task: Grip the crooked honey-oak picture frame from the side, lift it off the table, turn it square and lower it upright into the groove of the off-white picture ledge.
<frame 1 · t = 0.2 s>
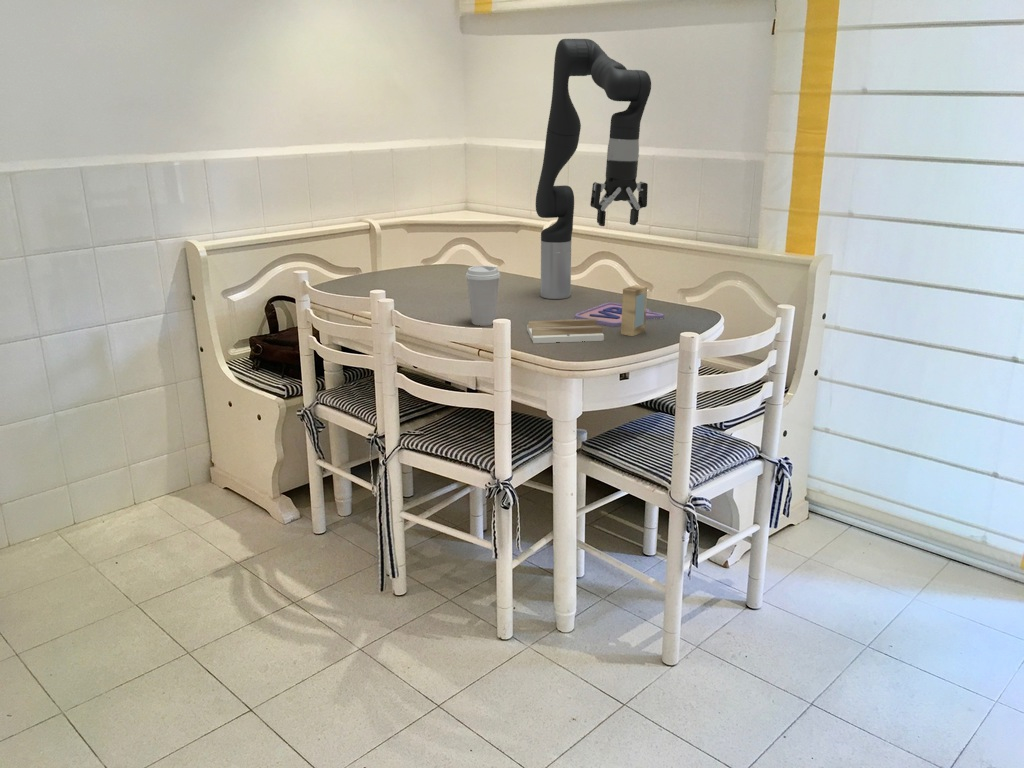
hand: (617, 225, 205), 28 cm above the table, tool pointing down, fingers open, 8 cm apart
coffee cup: (483, 323, 227), on the table
icon: (620, 319, 231), on the table
ledge: (564, 335, 214), on the table
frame: (633, 332, 216), on the table
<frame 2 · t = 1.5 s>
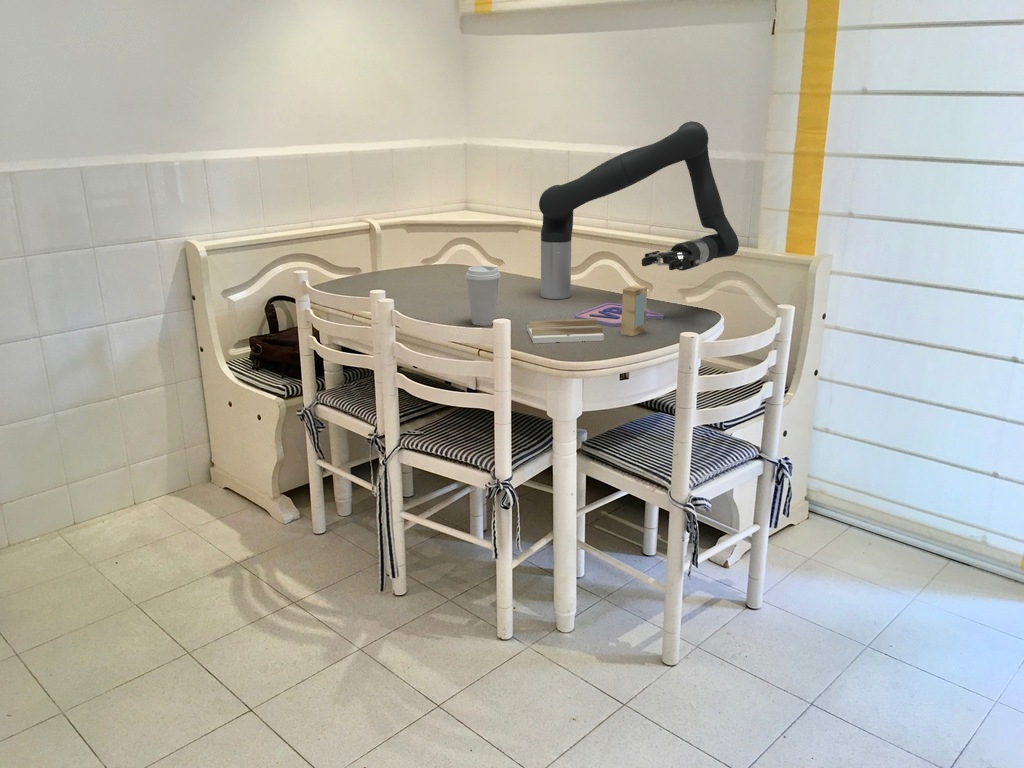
hand: (656, 264, 218), 16 cm above the table, tool horizontal, fingers open, 8 cm apart
nothing on the table moved.
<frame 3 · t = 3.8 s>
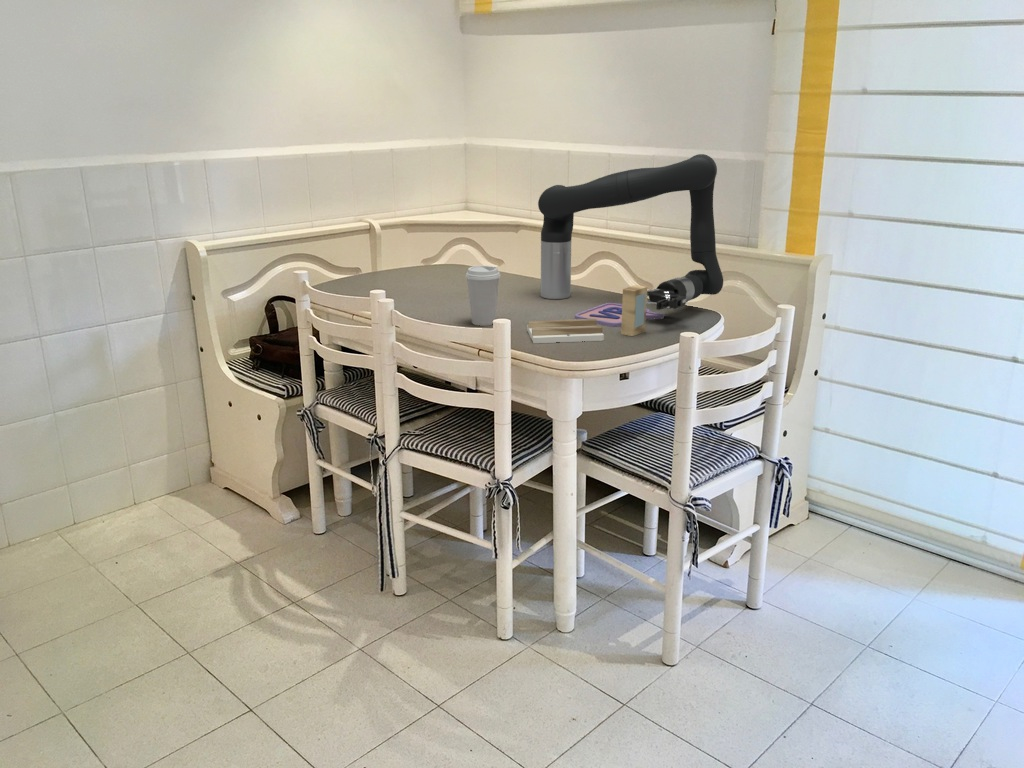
hand: (643, 303, 217), 7 cm above the table, tool horizontal, fingers open, 8 cm apart
nothing on the table moved.
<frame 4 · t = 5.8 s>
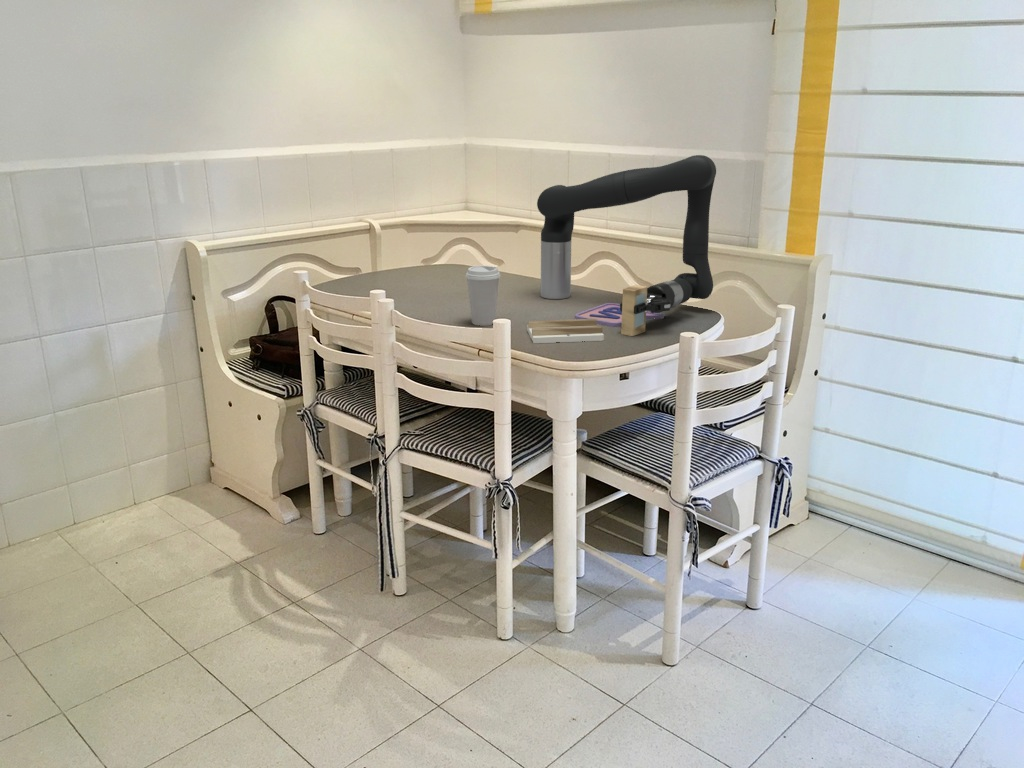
hand: (628, 308, 212), 7 cm above the table, tool horizontal, fingers closed on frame, 3 cm apart
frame: (633, 332, 216), on the table, touching gripper
everything else where it was.
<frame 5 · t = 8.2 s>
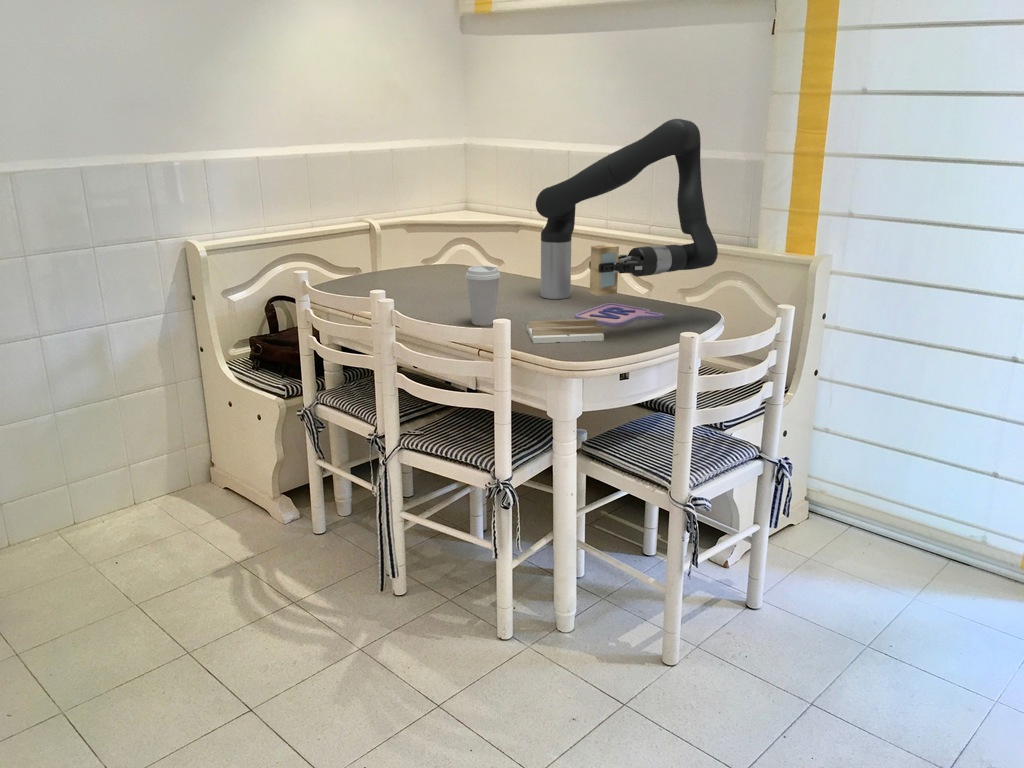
hand: (595, 266, 207), 18 cm above the table, tool horizontal, fingers closed on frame, 3 cm apart
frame: (603, 293, 211), point 11 cm above the table, touching gripper
everything else where it was.
when the fingers open (10 cm above the table, at t = 11.0 s): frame drops 2 cm, resting on ledge.
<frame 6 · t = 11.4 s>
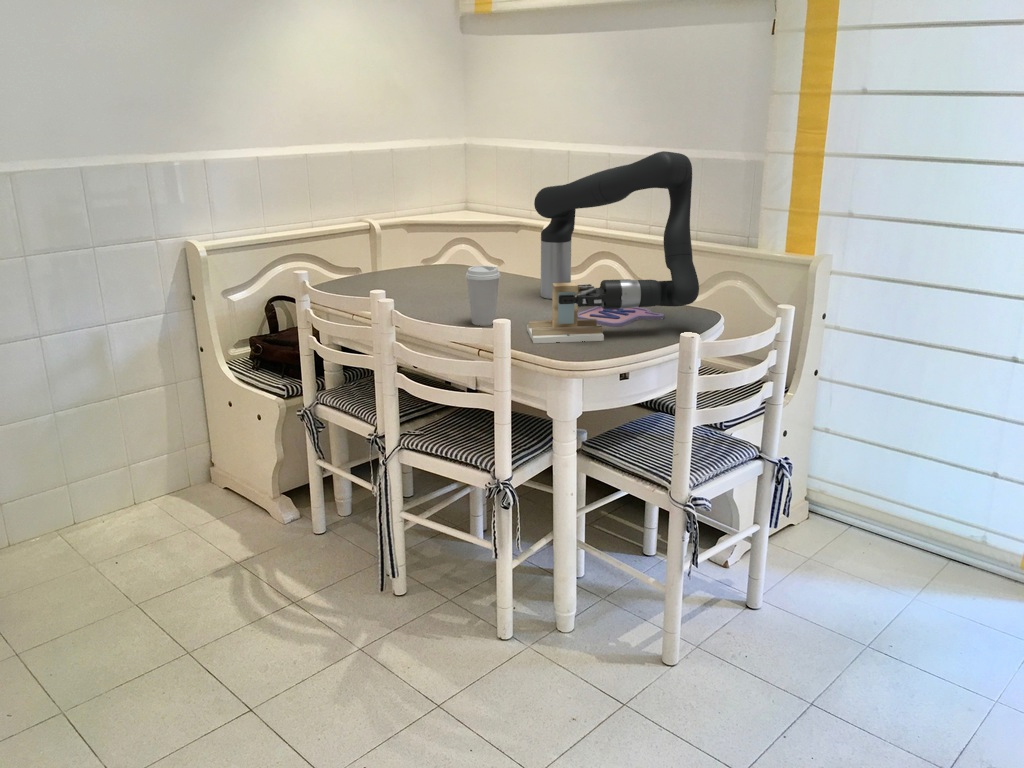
hand: (556, 296, 210), 10 cm above the table, tool horizontal, fingers open, 6 cm apart
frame: (564, 329, 214), point 1 cm above the table, touching ledge
everything else where it was.
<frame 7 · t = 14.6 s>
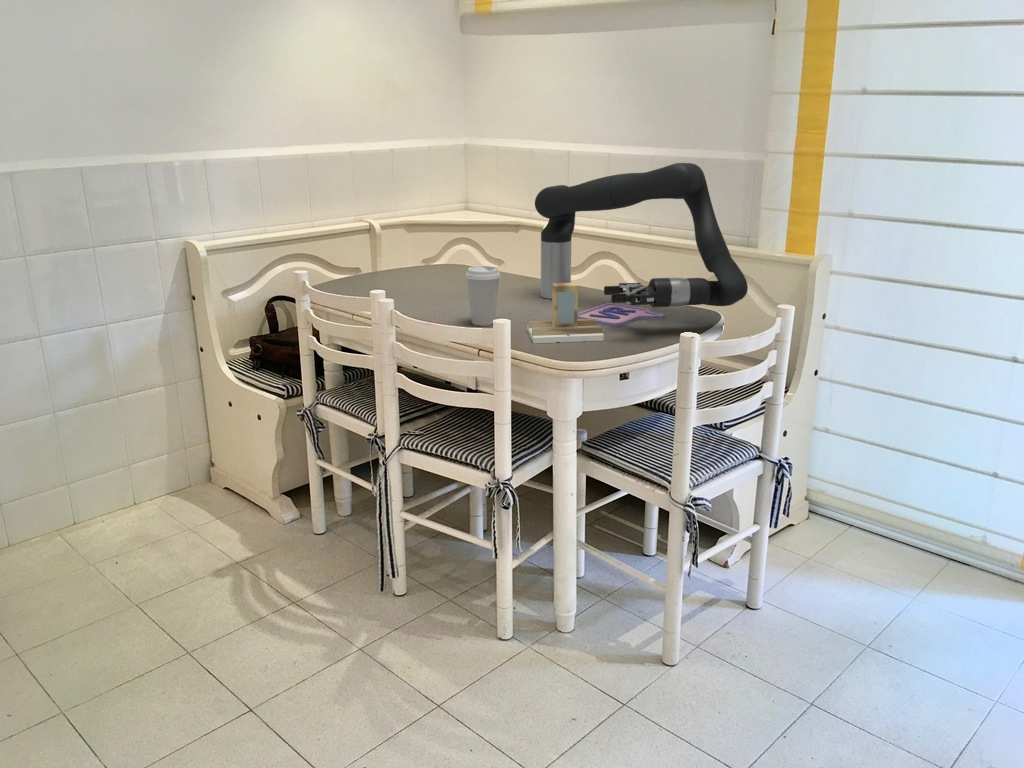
hand: (607, 294, 212), 11 cm above the table, tool horizontal, fingers open, 8 cm apart
nothing on the table moved.
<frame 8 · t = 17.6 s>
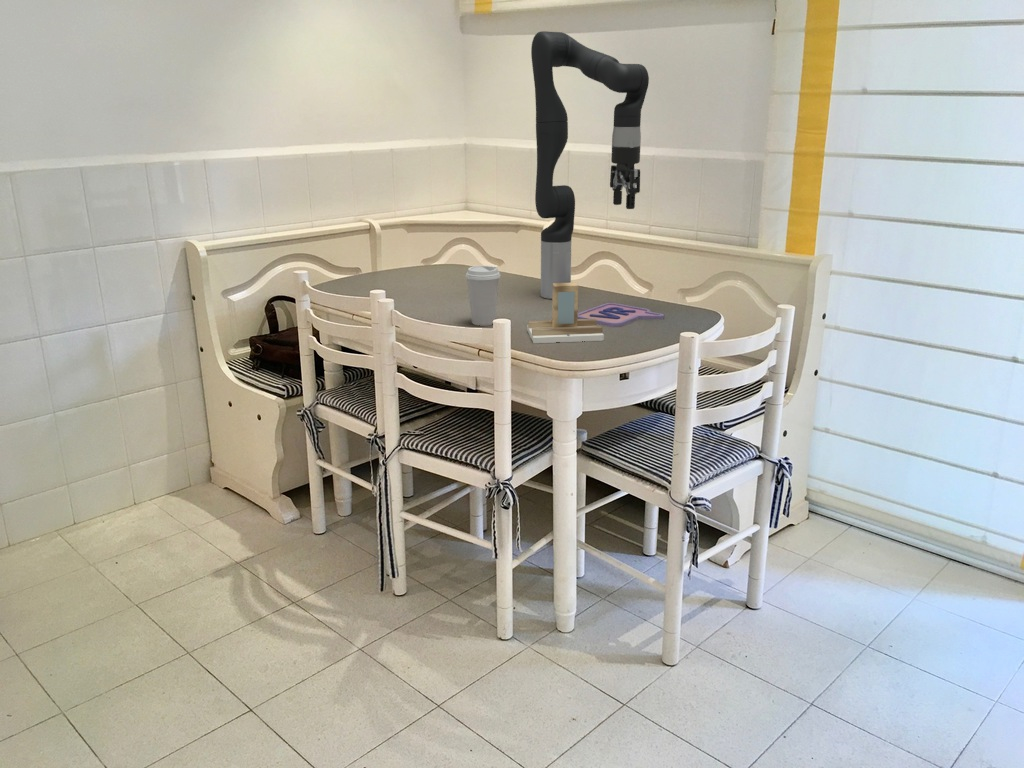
hand: (623, 206, 223), 30 cm above the table, tool pointing down, fingers open, 8 cm apart
nothing on the table moved.
at the end: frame inside the target area on the ledge (0.1 cm from its centre), point 1.5 cm above the ledge's base; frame tilted 0°; the gripper is holding nothing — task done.
